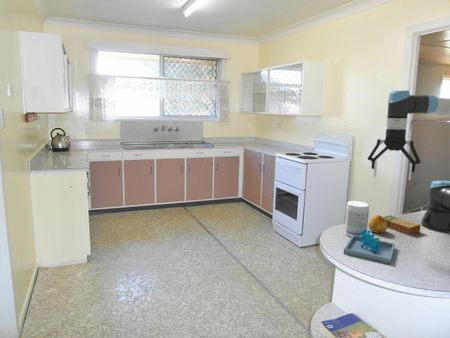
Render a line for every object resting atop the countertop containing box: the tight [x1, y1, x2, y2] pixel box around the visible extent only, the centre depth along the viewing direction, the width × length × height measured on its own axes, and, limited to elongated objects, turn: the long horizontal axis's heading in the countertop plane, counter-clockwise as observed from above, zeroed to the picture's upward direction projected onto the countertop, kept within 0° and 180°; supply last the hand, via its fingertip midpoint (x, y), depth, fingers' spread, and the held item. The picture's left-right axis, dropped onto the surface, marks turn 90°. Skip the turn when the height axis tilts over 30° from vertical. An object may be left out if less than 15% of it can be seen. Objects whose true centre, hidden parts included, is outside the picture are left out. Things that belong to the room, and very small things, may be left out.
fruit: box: [367, 215, 388, 234], centre depth 166 cm, size 8×8×8 cm
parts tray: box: [343, 235, 396, 265], centre depth 145 cm, size 17×17×2 cm
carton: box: [382, 214, 421, 236], centre depth 171 cm, size 8×16×4 cm, turn 31°
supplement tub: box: [344, 200, 370, 238], centre depth 160 cm, size 10×10×15 cm
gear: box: [360, 229, 380, 253], centre depth 146 cm, size 11×6×10 cm
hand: (391, 177), depth 152 cm, fingers open, 13 cm apart
